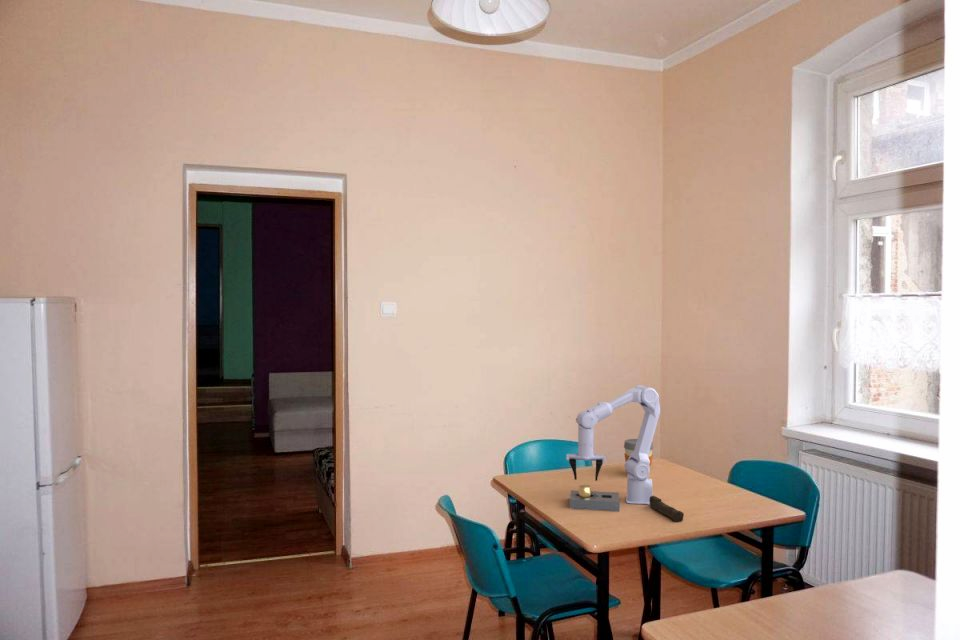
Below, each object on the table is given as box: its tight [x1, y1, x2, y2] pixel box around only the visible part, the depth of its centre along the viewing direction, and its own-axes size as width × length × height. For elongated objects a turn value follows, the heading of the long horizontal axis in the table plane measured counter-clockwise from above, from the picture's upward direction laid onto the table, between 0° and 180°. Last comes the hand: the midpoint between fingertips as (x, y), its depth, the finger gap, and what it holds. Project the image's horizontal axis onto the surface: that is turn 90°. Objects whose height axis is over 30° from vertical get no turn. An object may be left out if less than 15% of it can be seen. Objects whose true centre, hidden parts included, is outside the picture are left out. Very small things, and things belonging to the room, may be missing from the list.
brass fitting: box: [578, 484, 592, 498], centre depth 241 cm, size 4×4×7 cm
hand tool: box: [649, 495, 685, 523], centre depth 231 cm, size 19×4×5 cm, turn 14°
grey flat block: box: [569, 489, 621, 512], centre depth 241 cm, size 18×12×4 cm, turn 80°
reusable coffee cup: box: [623, 438, 654, 470], centre depth 283 cm, size 13×12×15 cm
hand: (585, 479), depth 242 cm, fingers open, 7 cm apart
